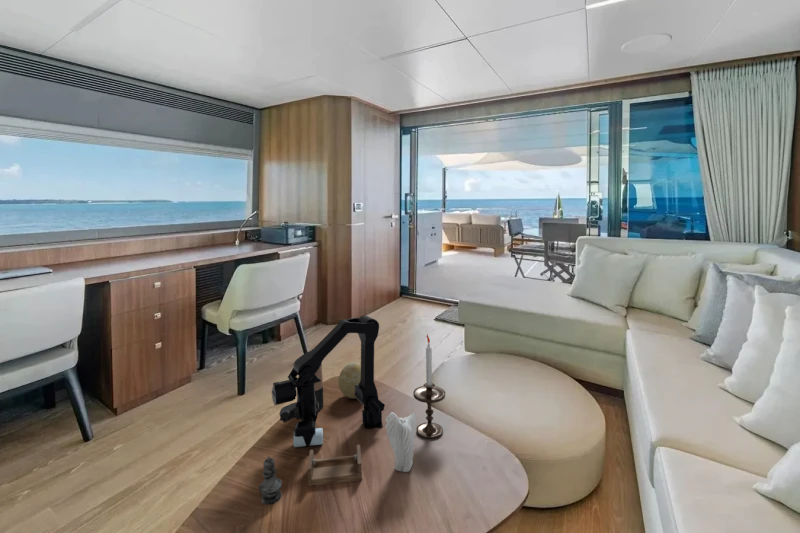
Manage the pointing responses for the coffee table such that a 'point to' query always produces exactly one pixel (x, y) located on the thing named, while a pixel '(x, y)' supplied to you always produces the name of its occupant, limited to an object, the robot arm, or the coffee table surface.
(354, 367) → the fossilized egg
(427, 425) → the candlestick
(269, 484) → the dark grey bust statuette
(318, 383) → the travel mug
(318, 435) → the roll
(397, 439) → the white angel figurine
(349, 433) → the coffee table surface
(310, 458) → the holder
